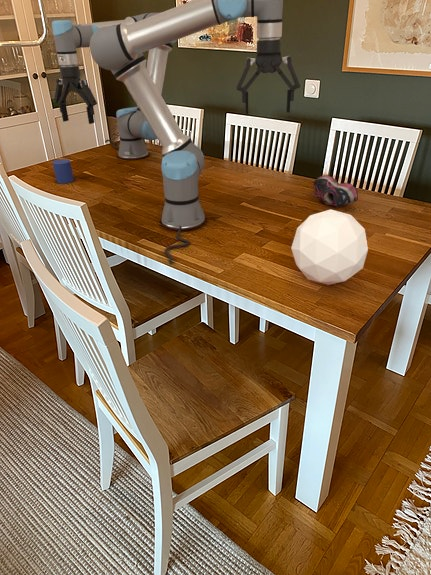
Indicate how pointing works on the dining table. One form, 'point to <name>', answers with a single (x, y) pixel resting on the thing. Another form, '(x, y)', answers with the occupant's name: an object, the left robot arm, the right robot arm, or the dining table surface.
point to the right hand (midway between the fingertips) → (267, 112)
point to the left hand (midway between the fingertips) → (78, 122)
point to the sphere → (330, 247)
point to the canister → (63, 171)
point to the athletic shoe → (334, 191)
